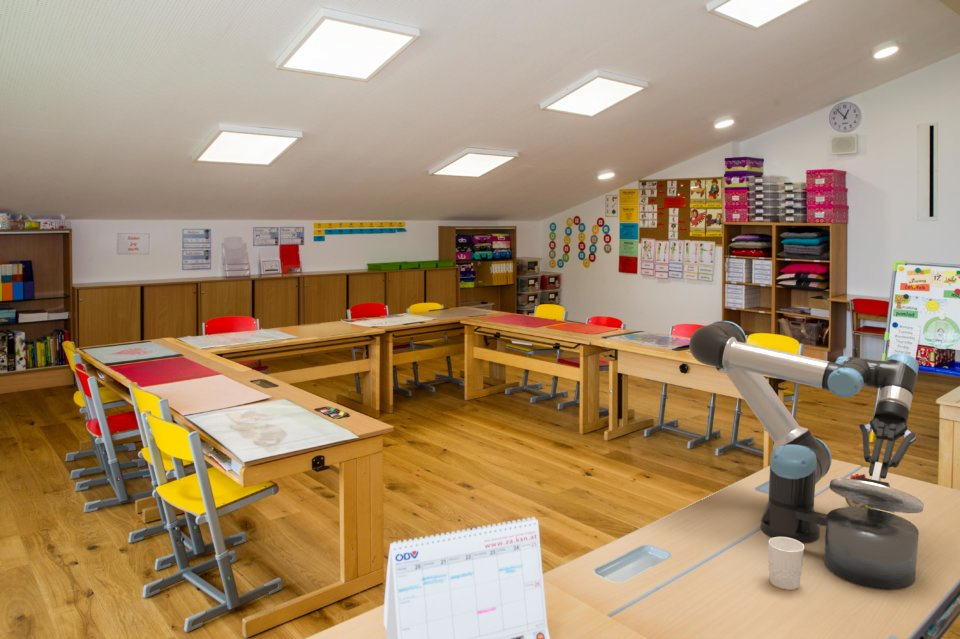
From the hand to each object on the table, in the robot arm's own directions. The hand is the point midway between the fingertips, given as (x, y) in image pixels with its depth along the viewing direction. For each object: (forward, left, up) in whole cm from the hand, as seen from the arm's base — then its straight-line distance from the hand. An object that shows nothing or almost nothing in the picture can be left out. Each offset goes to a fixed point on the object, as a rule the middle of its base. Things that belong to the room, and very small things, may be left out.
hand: (874, 488), depth 175 cm
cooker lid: (0, +2, -3) cm, 4 cm away
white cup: (-14, -20, -21) cm, 33 cm away
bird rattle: (-11, +39, -21) cm, 45 cm away
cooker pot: (-4, 0, -21) cm, 21 cm away
